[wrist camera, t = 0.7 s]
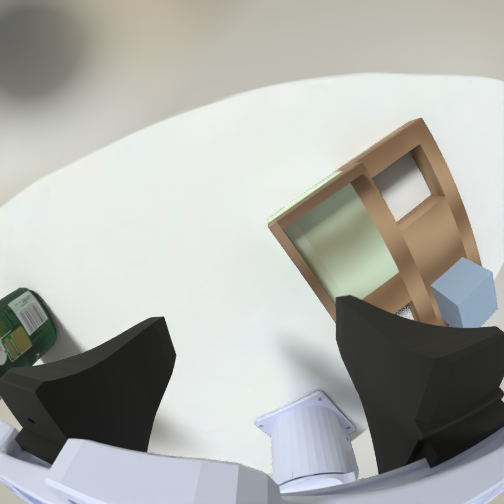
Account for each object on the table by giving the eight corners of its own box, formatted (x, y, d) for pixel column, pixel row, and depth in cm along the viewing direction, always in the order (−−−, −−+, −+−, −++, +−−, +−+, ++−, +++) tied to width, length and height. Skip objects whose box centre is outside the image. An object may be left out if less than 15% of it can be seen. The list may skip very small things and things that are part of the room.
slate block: (471, 291, 18) (497, 309, 14) (441, 318, 19) (465, 340, 15) (462, 256, 18) (492, 271, 14) (430, 285, 18) (457, 306, 14)
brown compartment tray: (475, 282, 20) (495, 295, 17) (368, 367, 23) (380, 390, 19) (409, 121, 17) (432, 114, 14) (266, 219, 19) (268, 227, 16)
